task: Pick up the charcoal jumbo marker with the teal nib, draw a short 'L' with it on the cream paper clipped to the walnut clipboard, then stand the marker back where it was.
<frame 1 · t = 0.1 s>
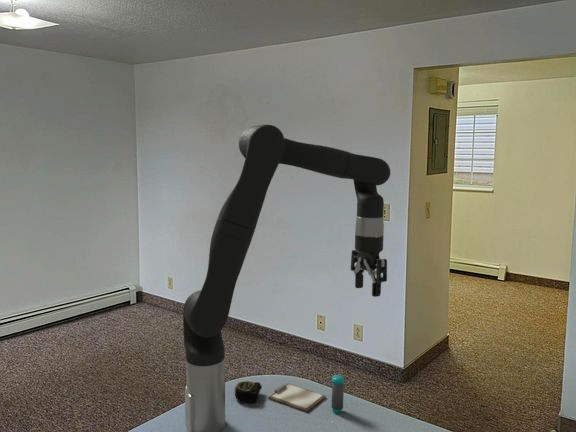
hand: (367, 291, 135), 29 cm above the table, fingers open, 8 cm apart
clipboard: (297, 398, 135), on the table
tape measure: (250, 399, 135), on the table
marker: (337, 411, 128), on the table
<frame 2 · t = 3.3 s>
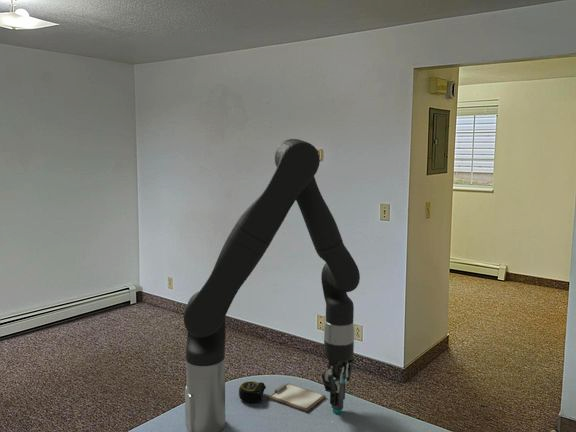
hand: (337, 401, 128), 3 cm above the table, fingers closed on marker, 3 cm apart
tape measure: (254, 399, 135), on the table
marker: (337, 411, 128), on the table, touching gripper
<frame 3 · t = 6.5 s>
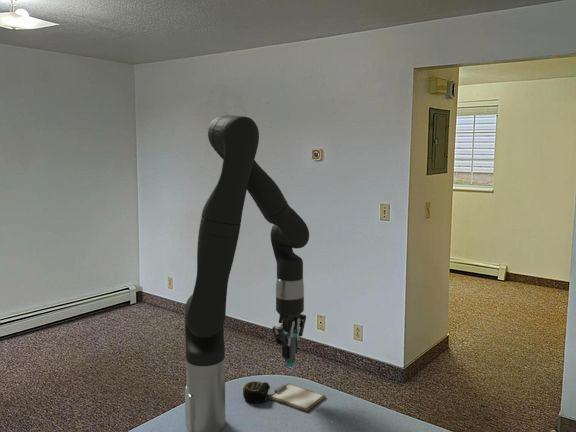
hand: (290, 355, 135), 12 cm above the table, fingers closed on marker, 3 cm apart
tape measure: (258, 399, 135), on the table
marker: (290, 364, 135), point 9 cm above the table, touching gripper
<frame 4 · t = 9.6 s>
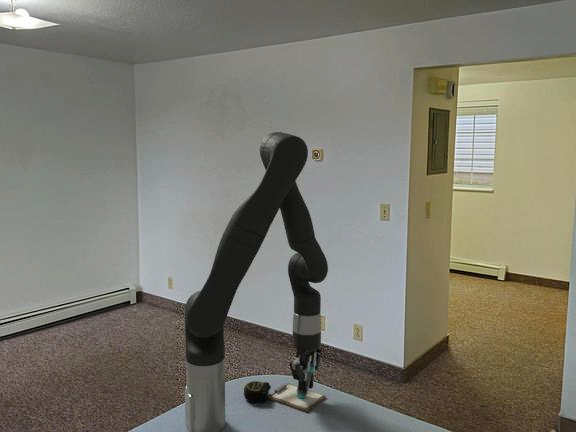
hand: (305, 389, 133), 3 cm above the table, fingers closed on marker, 3 cm apart
marker: (301, 395, 134), point 1 cm above the table, tilted 13°, touching clipboard, gripper
everything else where it was.
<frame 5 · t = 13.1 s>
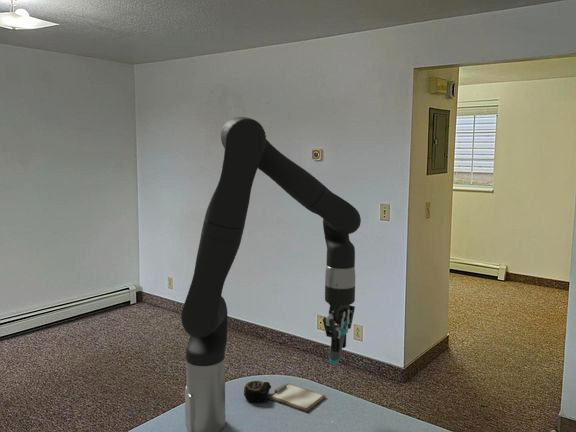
hand: (338, 348, 126), 17 cm above the table, fingers closed on marker, 3 cm apart
marker: (333, 361, 127), point 13 cm above the table, tilted 10°, touching gripper
everything else where it was.
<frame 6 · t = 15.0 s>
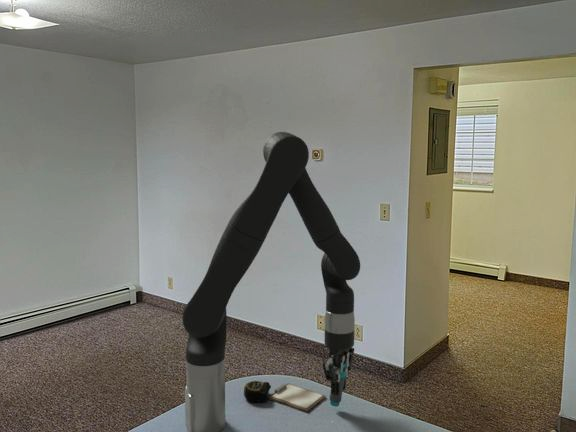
hand: (338, 391, 128), 6 cm above the table, fingers closed on marker, 3 cm apart
marker: (334, 403, 129), point 2 cm above the table, tilted 8°, touching gripper
everything else where it was.
when the fingers open (4 cm above the table, at t = 15.8 s): marker stays where it is, on the table.
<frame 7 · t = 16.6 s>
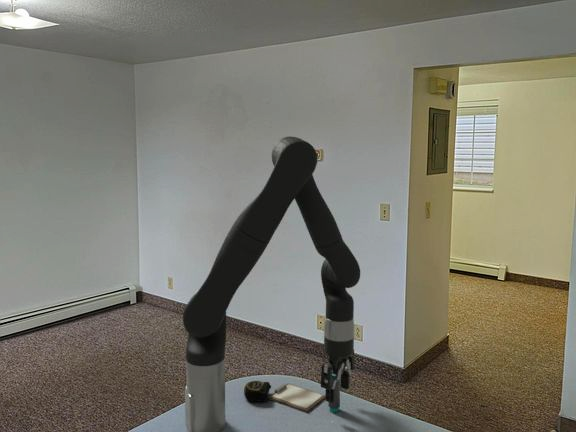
hand: (337, 394, 128), 5 cm above the table, fingers open, 8 cm apart
marker: (334, 410, 129), on the table
everything else where it was.
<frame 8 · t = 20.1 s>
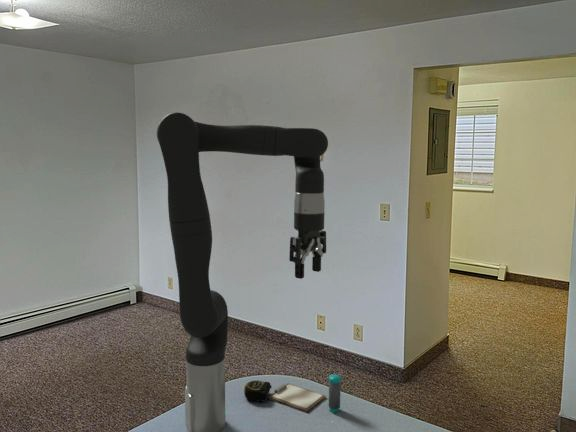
hand: (308, 274, 125), 36 cm above the table, fingers open, 8 cm apart
nothing on the table moved.
at the end: marker 0.9 cm from the target spot, on the table; marker tilted 1°; the gripper is holding nothing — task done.
